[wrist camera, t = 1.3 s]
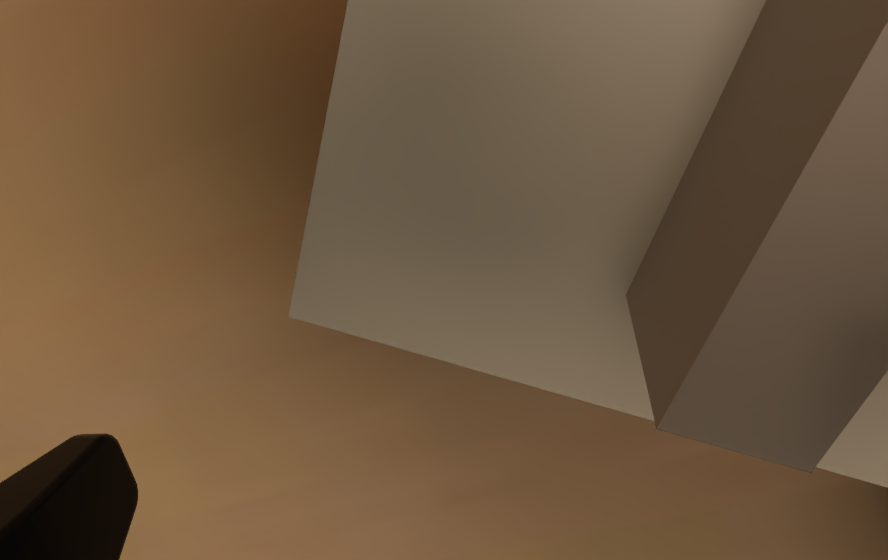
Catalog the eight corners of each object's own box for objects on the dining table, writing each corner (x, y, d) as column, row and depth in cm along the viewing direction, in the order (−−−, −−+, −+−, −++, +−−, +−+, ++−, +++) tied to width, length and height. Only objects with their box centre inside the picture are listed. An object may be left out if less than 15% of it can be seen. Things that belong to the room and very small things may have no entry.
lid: (1438, -180, 11) (2256, -230, 6) (917, 446, 18) (1076, 681, 13) (470, -507, 10) (410, -896, 5) (312, 272, 17) (217, 444, 12)
